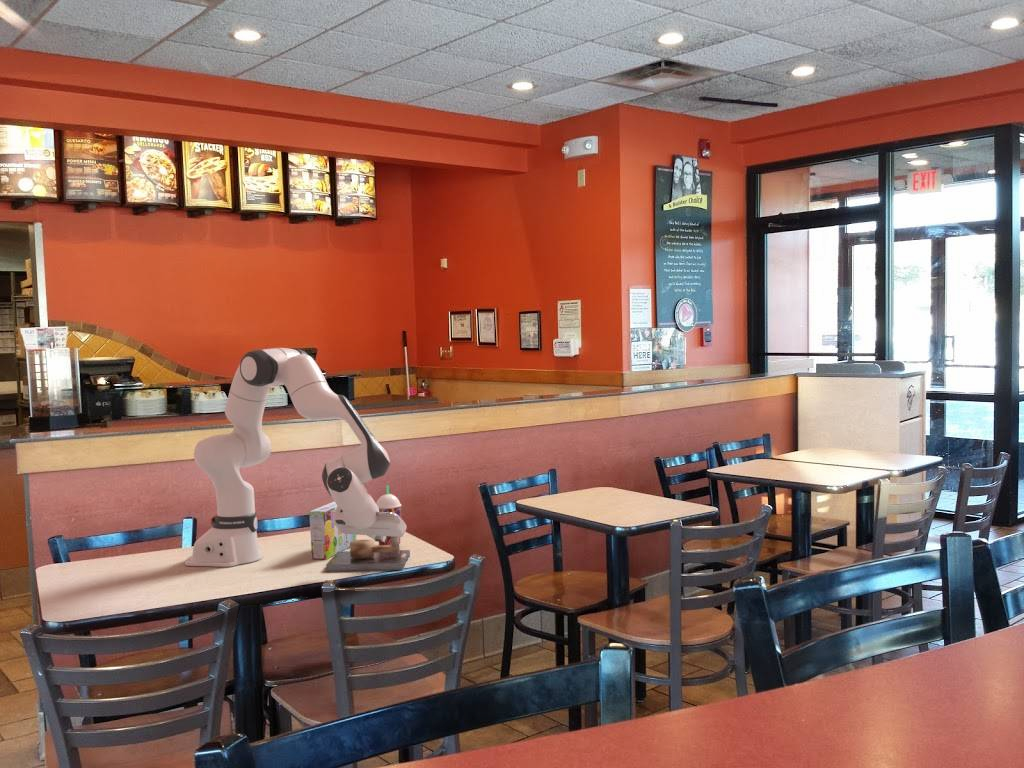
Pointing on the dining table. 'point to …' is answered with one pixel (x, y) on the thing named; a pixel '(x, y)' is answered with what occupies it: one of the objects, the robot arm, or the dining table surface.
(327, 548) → the snack box
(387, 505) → the smoothie
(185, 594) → the dining table surface
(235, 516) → the robot arm
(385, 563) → the stand plate
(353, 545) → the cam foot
